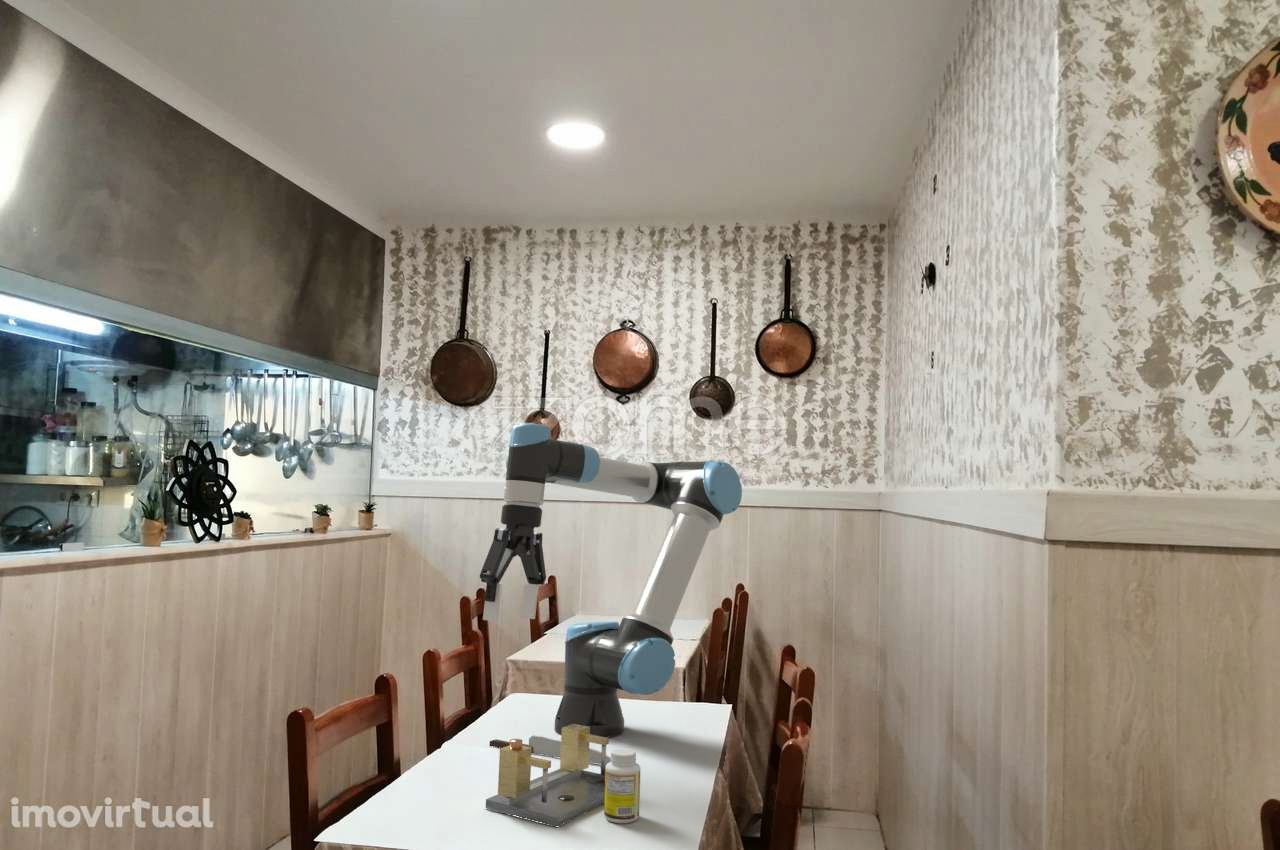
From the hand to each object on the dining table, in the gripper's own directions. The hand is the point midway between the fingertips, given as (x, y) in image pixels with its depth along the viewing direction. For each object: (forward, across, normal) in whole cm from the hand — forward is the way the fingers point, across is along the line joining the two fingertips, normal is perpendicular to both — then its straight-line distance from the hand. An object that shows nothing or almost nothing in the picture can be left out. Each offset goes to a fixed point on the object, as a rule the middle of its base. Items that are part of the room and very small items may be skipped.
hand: (509, 619), depth 164 cm
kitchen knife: (+27, -14, +5) cm, 31 cm away
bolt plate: (+27, +7, +18) cm, 33 cm away
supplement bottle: (+27, +10, +30) cm, 42 cm away
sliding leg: (+25, +16, +16) cm, 34 cm away
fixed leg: (+24, -1, +18) cm, 30 cm away
